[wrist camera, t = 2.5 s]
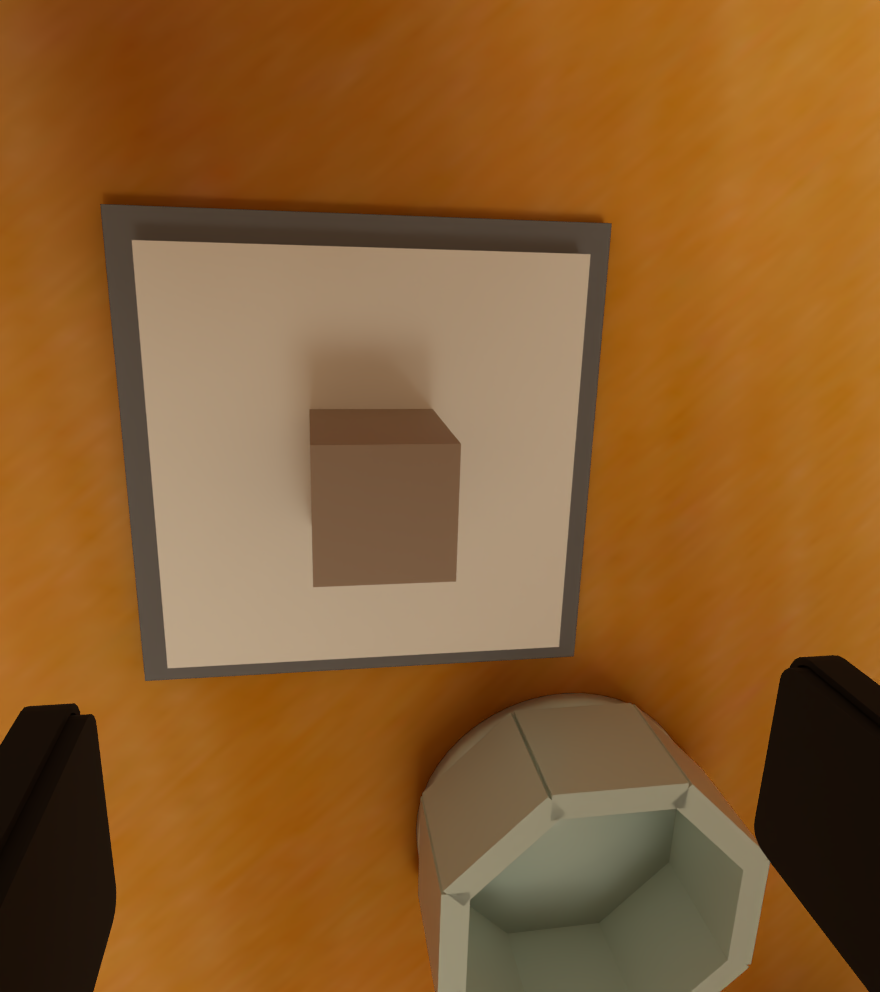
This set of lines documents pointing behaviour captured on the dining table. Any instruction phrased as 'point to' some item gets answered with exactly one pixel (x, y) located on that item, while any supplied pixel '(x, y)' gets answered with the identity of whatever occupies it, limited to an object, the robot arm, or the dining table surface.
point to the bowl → (582, 858)
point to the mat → (343, 232)
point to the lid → (359, 446)
